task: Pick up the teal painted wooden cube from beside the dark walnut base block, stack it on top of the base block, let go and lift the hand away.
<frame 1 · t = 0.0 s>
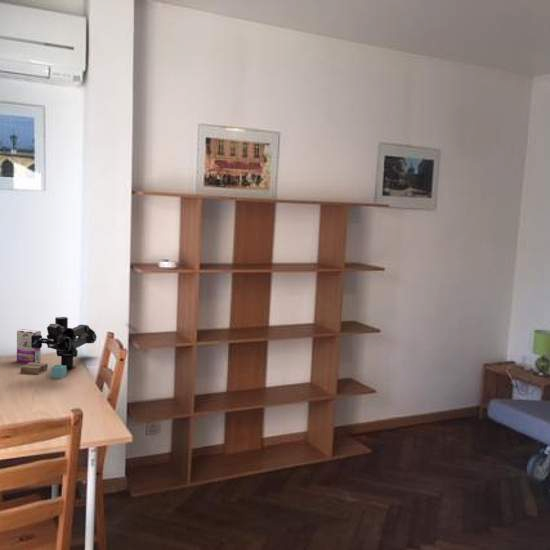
hand: (42, 346, 275), 17 cm above the table, tool horizontal, fingers open, 9 cm apart
teal cube: (58, 376, 286), on the table
walnut base block: (34, 371, 293), on the table
candy bar box: (28, 362, 309), on the table
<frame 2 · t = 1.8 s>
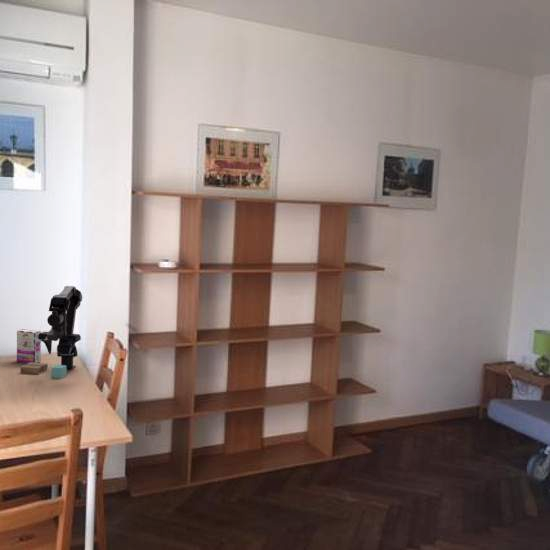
hand: (59, 354, 285), 11 cm above the table, tool pointing down, fingers open, 9 cm apart
nothing on the table moved.
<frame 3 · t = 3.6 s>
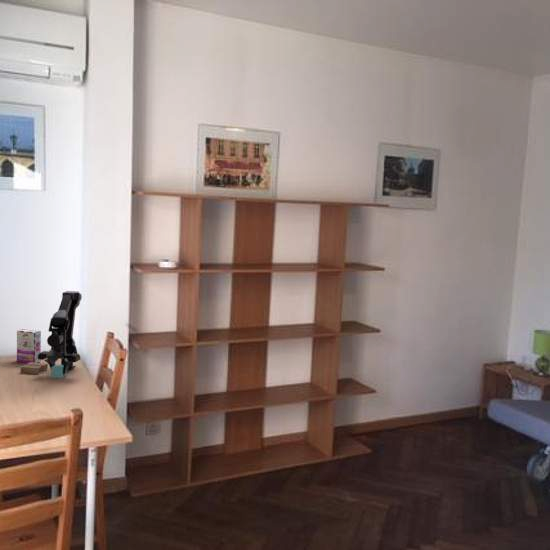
hand: (58, 374, 286), 1 cm above the table, tool pointing down, fingers closed on teal cube, 5 cm apart
teal cube: (58, 376, 286), on the table, touching gripper
everything else where it was.
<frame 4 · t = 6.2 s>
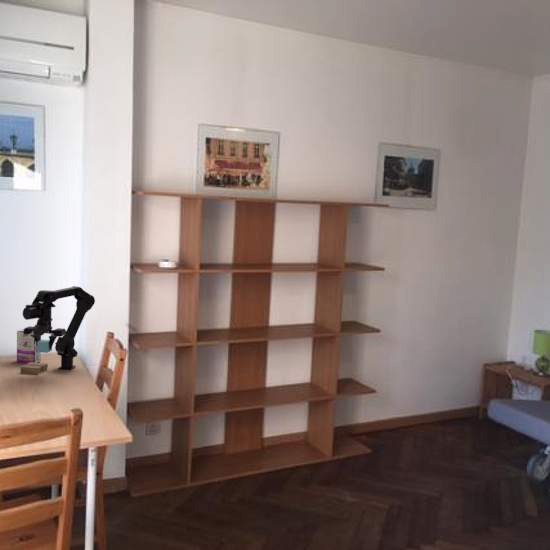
hand: (44, 349, 289), 12 cm above the table, tool pointing down, fingers closed on teal cube, 5 cm apart
teal cube: (44, 351, 289), point 11 cm above the table, touching gripper
everything else where it was.
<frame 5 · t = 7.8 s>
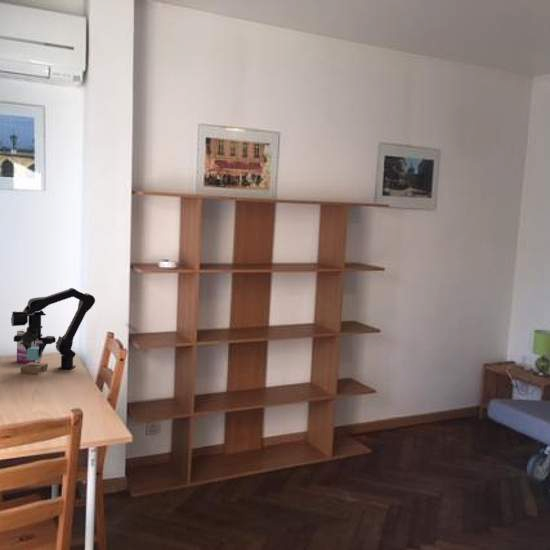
hand: (34, 356, 292), 7 cm above the table, tool pointing down, fingers closed on teal cube, 5 cm apart
teal cube: (34, 358, 292), point 6 cm above the table, touching gripper
everything else where it was.
when the fingers open (6 cm above the table, at t = 9.0 s): teal cube drops 2 cm, resting on walnut base block.
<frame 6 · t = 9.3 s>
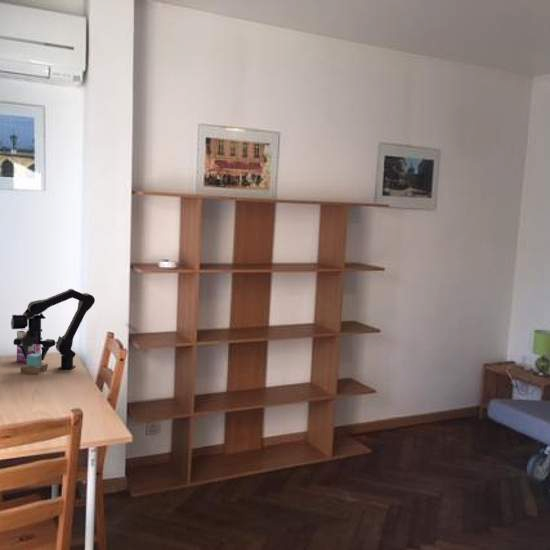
hand: (34, 359, 292), 6 cm above the table, tool pointing down, fingers open, 8 cm apart
teal cube: (34, 365, 292), point 3 cm above the table, touching walnut base block
everything else where it was.
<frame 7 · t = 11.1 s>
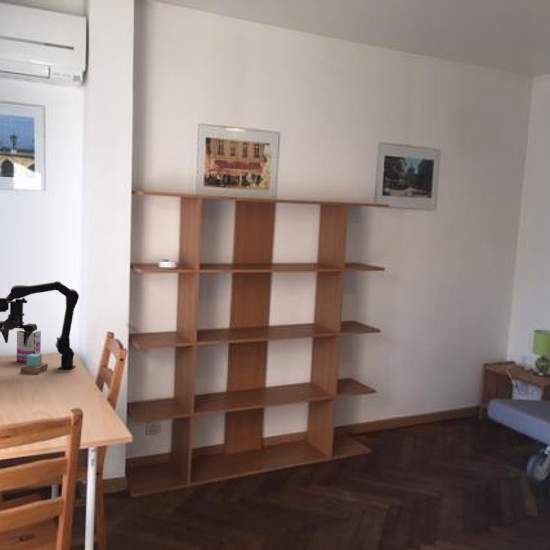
hand: (15, 343, 290), 13 cm above the table, tool pointing down, fingers open, 9 cm apart
nothing on the table moved.
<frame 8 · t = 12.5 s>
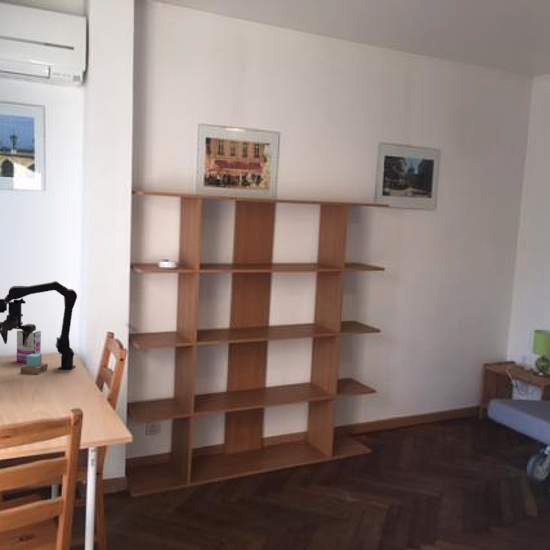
hand: (14, 344, 290), 13 cm above the table, tool pointing down, fingers open, 9 cm apart
nothing on the table moved.
at the end: teal cube 0.1 cm off-centre on the walnut base block, point 3.0 cm above the walnut base block's base; teal cube tilted 0°; the gripper is holding nothing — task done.
